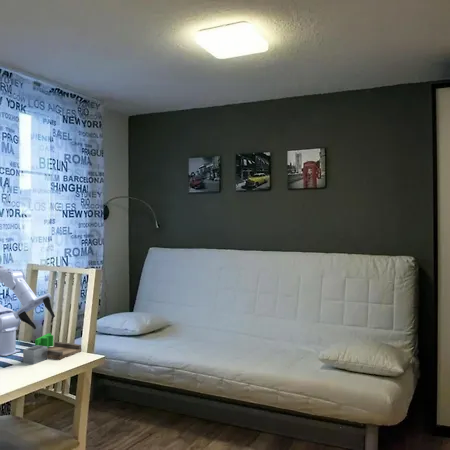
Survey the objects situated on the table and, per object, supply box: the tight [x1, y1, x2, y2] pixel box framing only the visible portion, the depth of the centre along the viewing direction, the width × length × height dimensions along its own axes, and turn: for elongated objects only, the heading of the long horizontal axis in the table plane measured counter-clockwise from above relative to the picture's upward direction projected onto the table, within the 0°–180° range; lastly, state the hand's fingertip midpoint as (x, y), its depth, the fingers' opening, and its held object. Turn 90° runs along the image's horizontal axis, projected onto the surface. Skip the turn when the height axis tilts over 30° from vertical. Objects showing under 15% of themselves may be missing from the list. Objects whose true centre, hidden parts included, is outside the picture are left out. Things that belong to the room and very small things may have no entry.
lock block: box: [22, 345, 48, 365], centre depth 180 cm, size 5×7×5 cm
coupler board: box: [47, 341, 82, 361], centre depth 191 cm, size 12×13×3 cm
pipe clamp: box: [34, 332, 54, 348], centre depth 200 cm, size 11×4×5 cm, turn 173°
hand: (44, 322), depth 181 cm, fingers open, 7 cm apart
